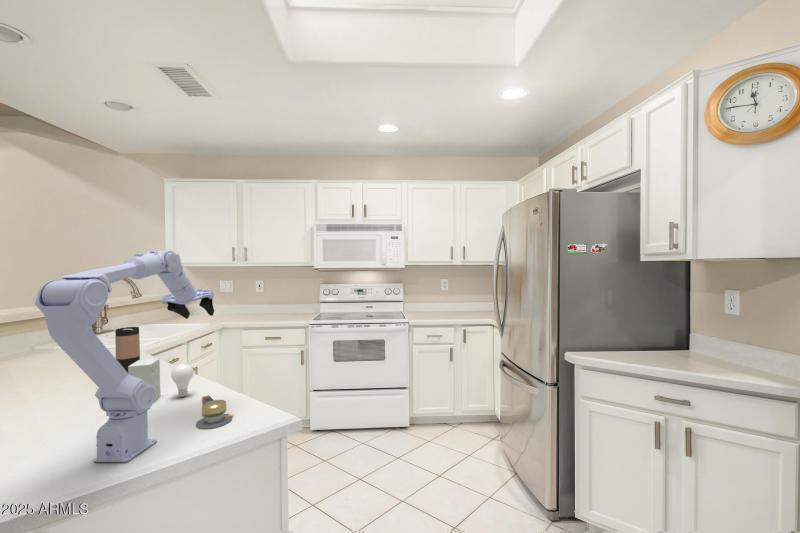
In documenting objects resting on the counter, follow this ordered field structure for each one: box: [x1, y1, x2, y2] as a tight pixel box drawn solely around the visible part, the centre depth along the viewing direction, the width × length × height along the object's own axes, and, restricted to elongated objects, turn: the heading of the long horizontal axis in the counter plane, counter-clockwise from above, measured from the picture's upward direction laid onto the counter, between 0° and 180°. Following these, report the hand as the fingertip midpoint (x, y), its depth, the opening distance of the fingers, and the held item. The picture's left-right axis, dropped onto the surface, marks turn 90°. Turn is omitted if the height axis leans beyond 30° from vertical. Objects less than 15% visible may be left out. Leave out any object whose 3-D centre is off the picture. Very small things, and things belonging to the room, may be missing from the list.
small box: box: [128, 358, 161, 403], centre depth 114 cm, size 8×6×13 cm
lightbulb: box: [170, 363, 195, 398], centre depth 118 cm, size 6×6×11 cm
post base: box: [195, 413, 235, 430], centre depth 98 cm, size 9×9×2 cm
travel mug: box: [114, 326, 141, 373], centre depth 139 cm, size 8×8×20 cm
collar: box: [201, 394, 227, 418], centre depth 100 cm, size 12×6×2 cm, turn 43°
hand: (200, 314), depth 110 cm, fingers open, 7 cm apart
